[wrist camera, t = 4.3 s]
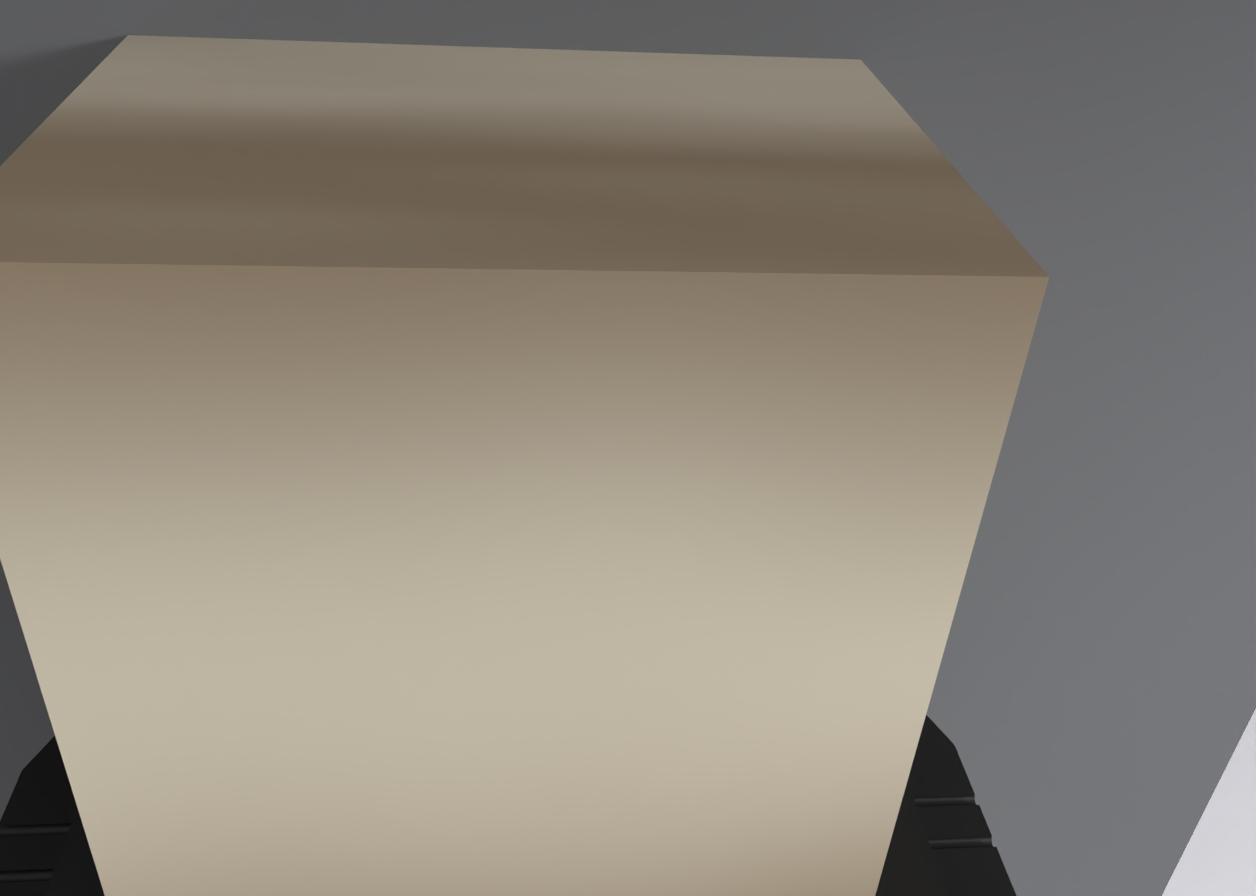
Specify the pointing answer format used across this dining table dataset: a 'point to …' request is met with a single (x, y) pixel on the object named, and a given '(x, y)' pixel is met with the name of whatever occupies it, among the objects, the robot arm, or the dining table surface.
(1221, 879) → the dining table surface
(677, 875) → the cream block
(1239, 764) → the dining table surface
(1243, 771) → the dining table surface
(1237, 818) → the dining table surface
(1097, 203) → the rubber mat
